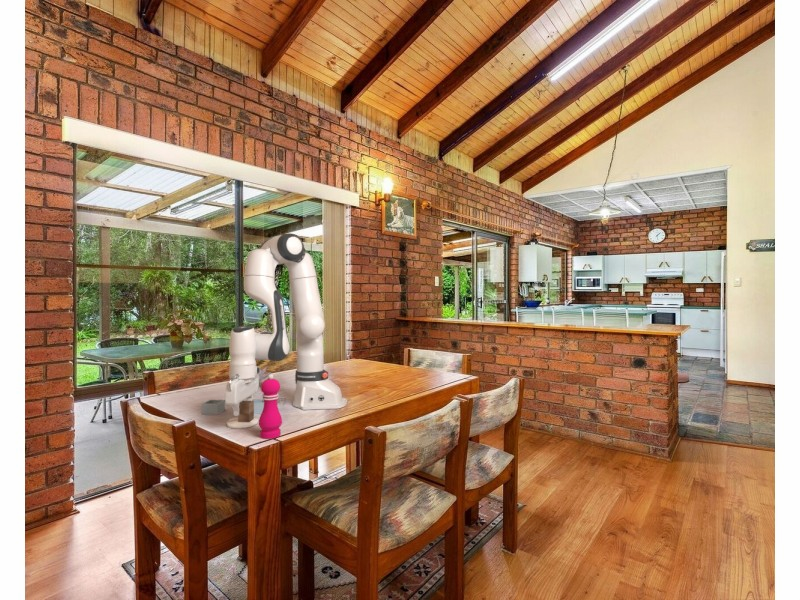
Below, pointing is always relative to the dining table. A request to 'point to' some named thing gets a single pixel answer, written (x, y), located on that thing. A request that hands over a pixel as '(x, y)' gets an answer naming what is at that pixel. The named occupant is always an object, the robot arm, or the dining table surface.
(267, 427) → the pepper mill
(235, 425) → the plate
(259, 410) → the sleeve
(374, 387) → the dining table surface
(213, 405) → the sleeve
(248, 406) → the walnut block
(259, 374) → the water lily
